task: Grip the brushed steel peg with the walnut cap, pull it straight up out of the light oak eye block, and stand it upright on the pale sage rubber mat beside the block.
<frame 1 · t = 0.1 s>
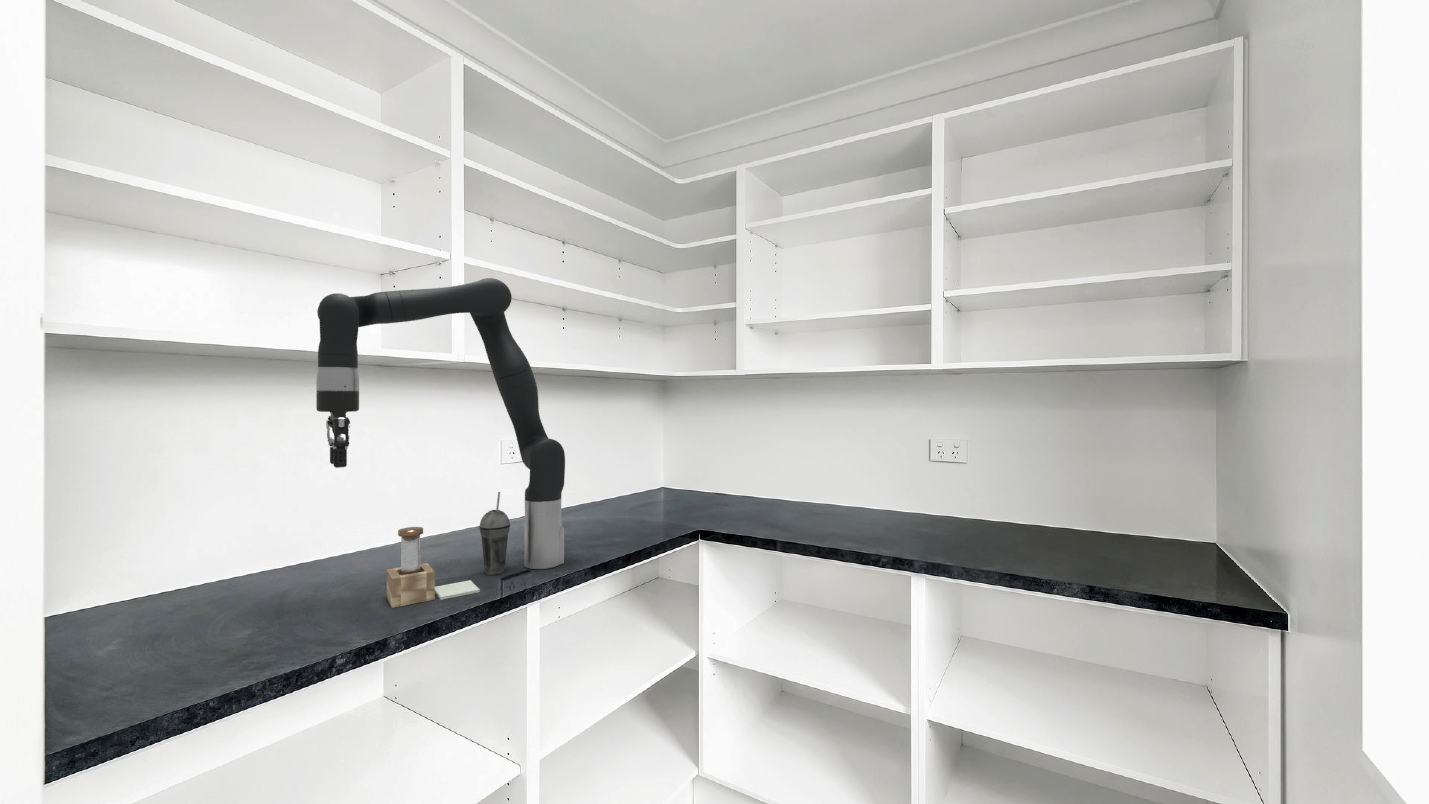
hand: (338, 465, 117), 29 cm above the worktop, tool pointing down, fingers open, 8 cm apart
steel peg: (410, 563, 120), in the oak eye block
oak eye block: (410, 598, 120), on the worktop
beverage cup: (494, 572, 139), on the worktop
sage mat: (456, 590, 125), on the worktop
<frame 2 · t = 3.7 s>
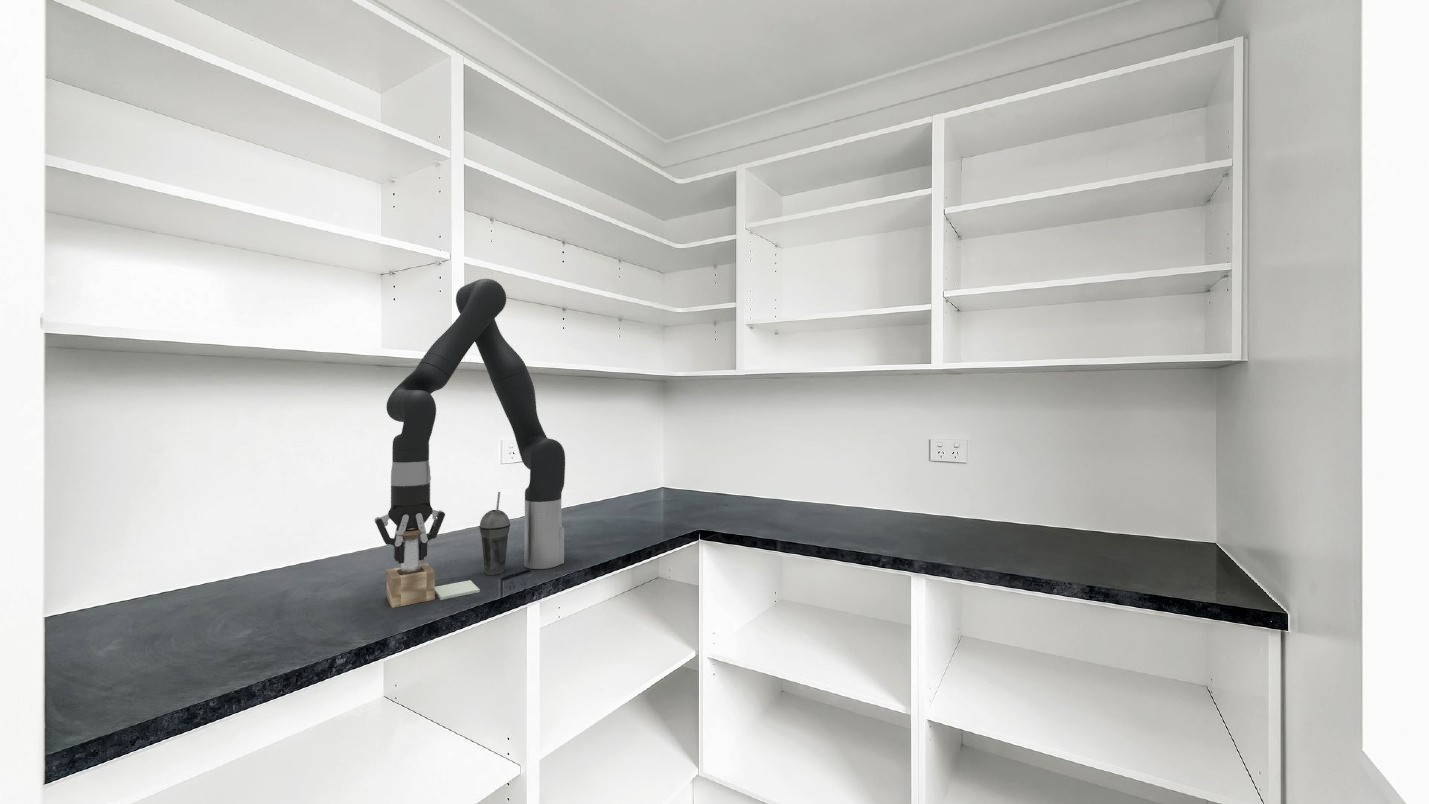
hand: (410, 560, 120), 8 cm above the worktop, tool pointing down, fingers closed on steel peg, 3 cm apart
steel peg: (410, 563, 120), in the oak eye block, touching gripper
everything else where it was.
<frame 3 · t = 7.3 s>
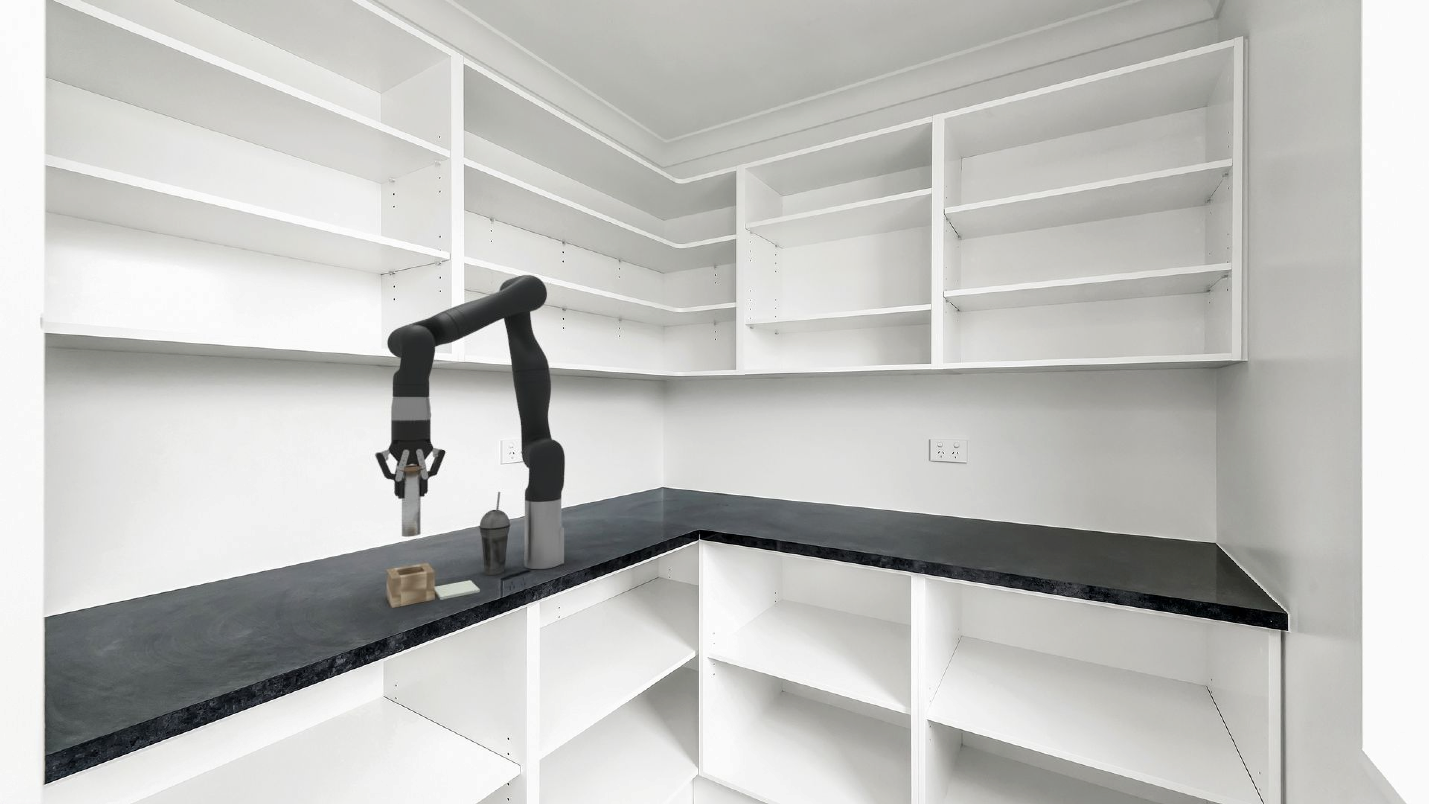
hand: (411, 496, 120), 22 cm above the worktop, tool pointing down, fingers closed on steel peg, 3 cm apart
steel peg: (411, 500, 120), point 21 cm above the worktop, touching gripper
everything else where it was.
when the fingers open (10 cm above the worktop, at t = 11.0 s): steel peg drops 1 cm, resting on sage mat.
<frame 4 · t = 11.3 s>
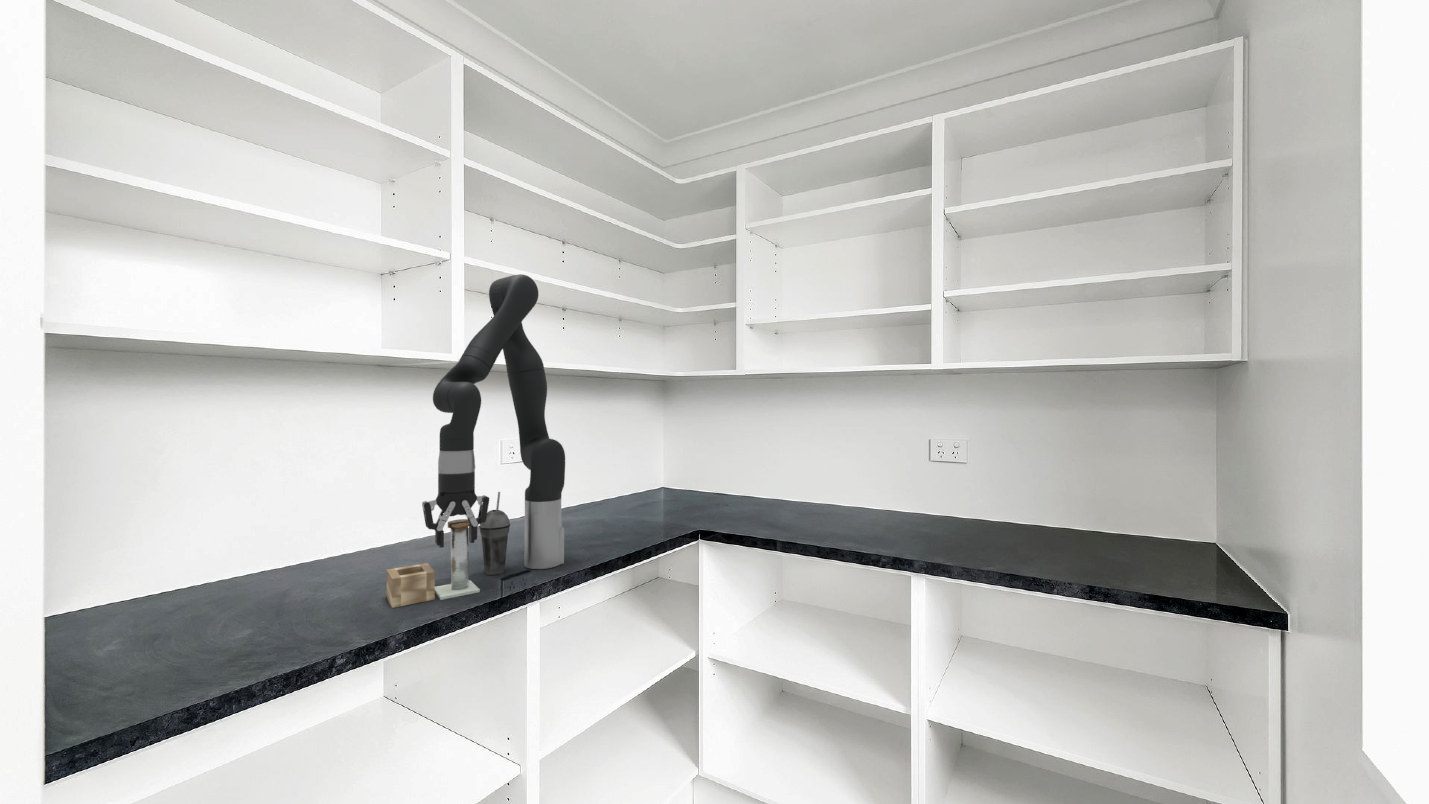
hand: (456, 544, 125), 11 cm above the worktop, tool pointing down, fingers open, 6 cm apart
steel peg: (459, 554, 125), on the sage mat, point 8 cm above the worktop
everything else where it was.
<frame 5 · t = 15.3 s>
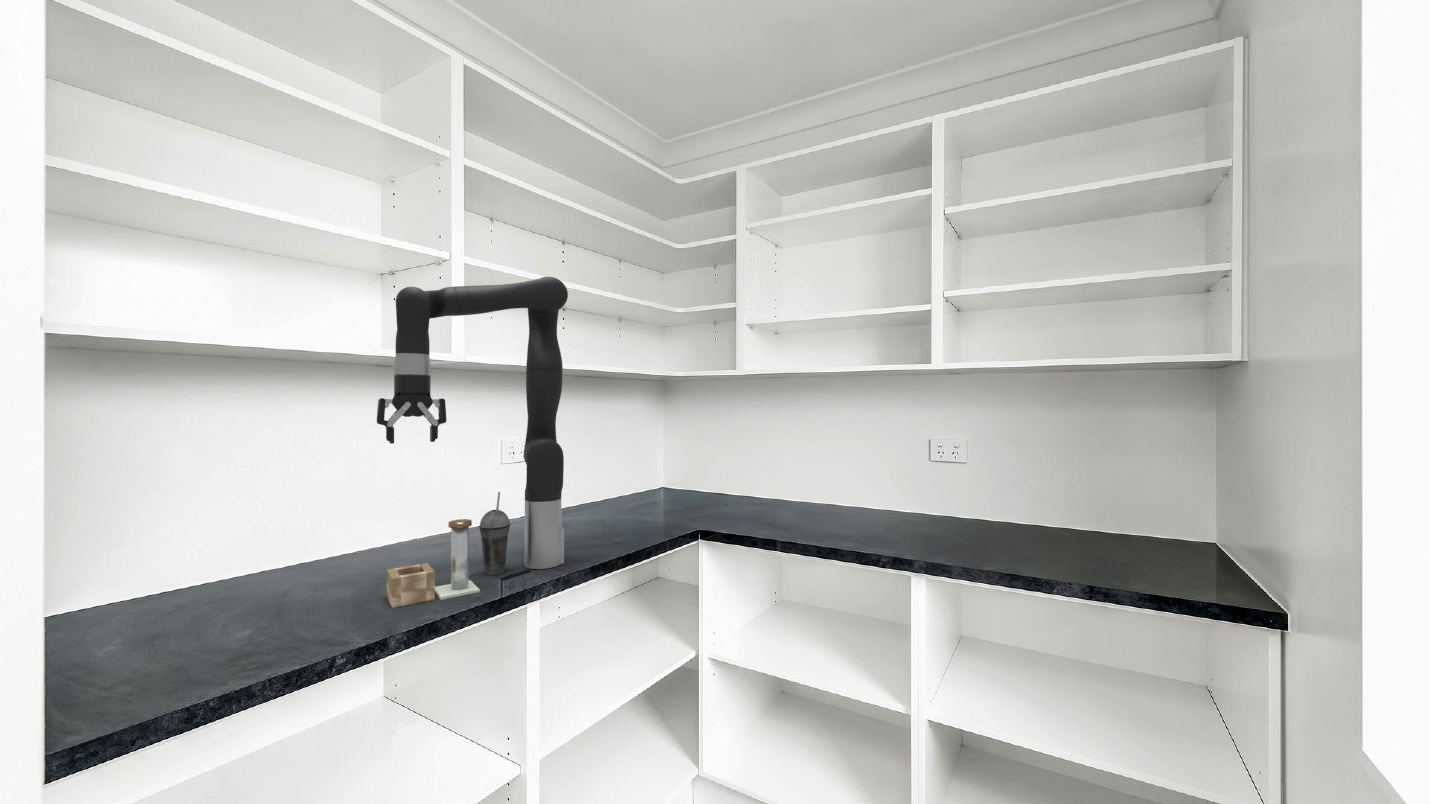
hand: (412, 442, 130), 33 cm above the worktop, tool pointing down, fingers open, 8 cm apart
nothing on the worktop moved.
at the end: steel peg 0.8 cm off-centre on the sage mat, point 8.1 cm above the sage mat's base; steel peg tilted 0° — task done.
